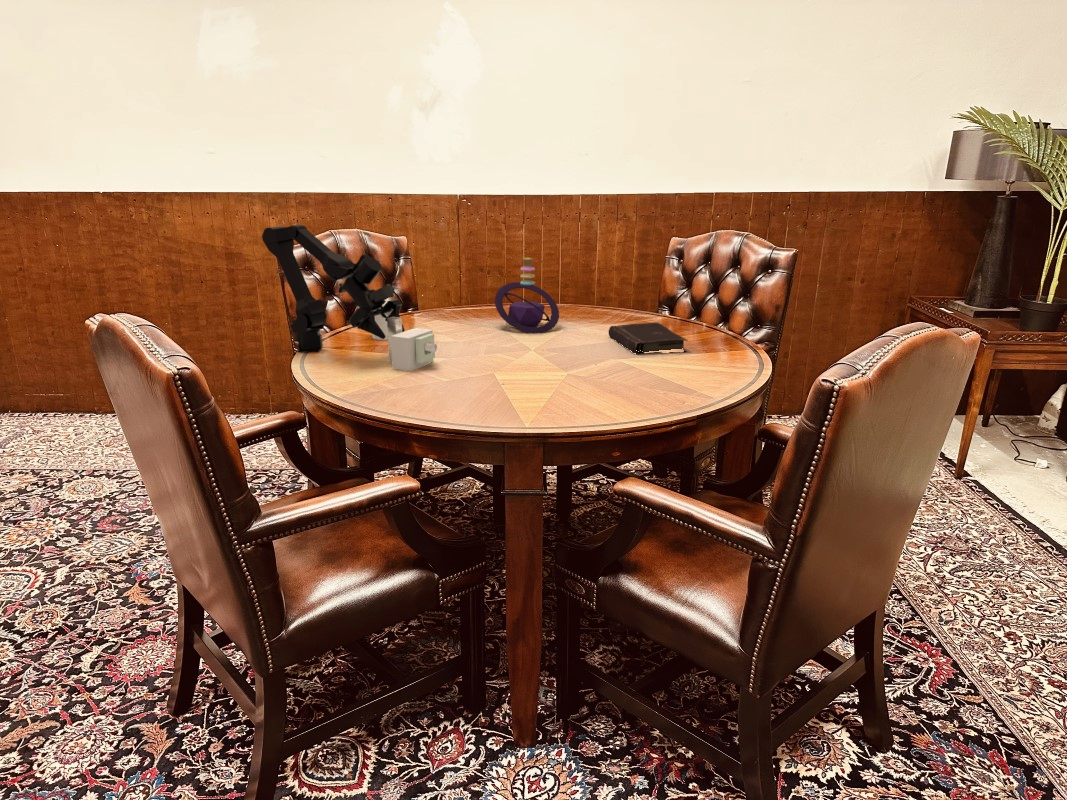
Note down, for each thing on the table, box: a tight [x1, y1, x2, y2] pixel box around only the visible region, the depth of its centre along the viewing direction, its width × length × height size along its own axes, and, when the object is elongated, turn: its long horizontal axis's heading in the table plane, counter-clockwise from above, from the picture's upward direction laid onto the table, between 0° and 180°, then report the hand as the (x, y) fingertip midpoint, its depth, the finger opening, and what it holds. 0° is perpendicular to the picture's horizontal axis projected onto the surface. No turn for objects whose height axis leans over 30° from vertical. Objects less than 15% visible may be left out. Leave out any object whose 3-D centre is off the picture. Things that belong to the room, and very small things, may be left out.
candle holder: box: [371, 299, 391, 341], centre depth 242 cm, size 10×10×12 cm
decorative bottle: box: [494, 257, 560, 334], centre depth 255 cm, size 22×21×25 cm
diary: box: [608, 322, 689, 354], centre depth 237 cm, size 19×25×5 cm
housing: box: [391, 327, 435, 372], centre depth 208 cm, size 6×12×10 cm, turn 154°
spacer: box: [416, 334, 436, 363], centre depth 206 cm, size 2×7×7 cm, turn 154°
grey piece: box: [387, 316, 438, 363], centre depth 208 cm, size 15×3×13 cm, turn 64°
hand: (394, 334), depth 210 cm, fingers open, 9 cm apart
